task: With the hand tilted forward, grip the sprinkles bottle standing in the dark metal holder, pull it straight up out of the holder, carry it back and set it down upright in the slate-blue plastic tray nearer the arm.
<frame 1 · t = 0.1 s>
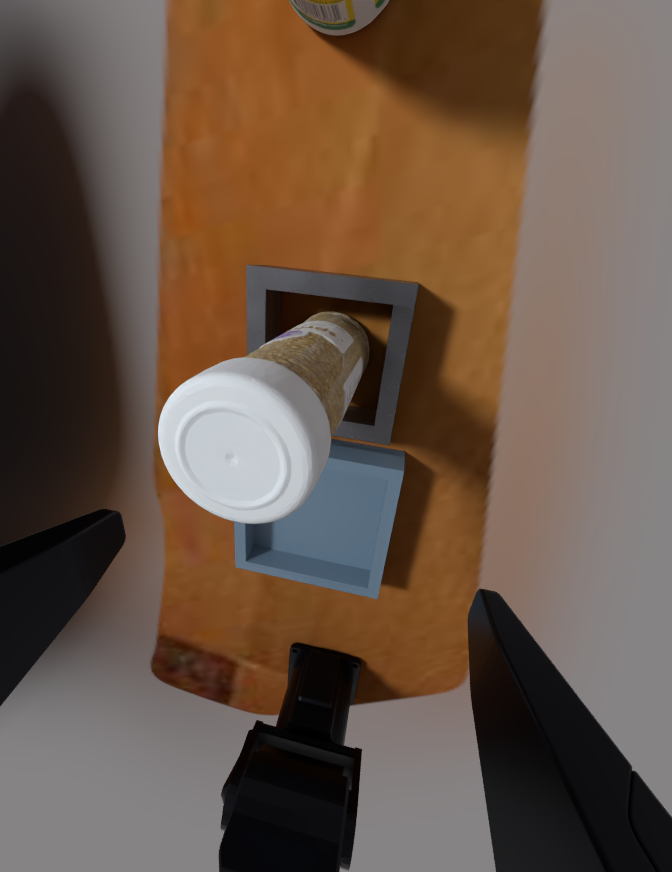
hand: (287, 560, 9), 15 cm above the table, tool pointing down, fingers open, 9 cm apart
tray: (318, 503, 26), on the table
sprinkles bottle: (332, 350, 22), resting in bottle holder
bottle holder: (332, 351, 21), on the table
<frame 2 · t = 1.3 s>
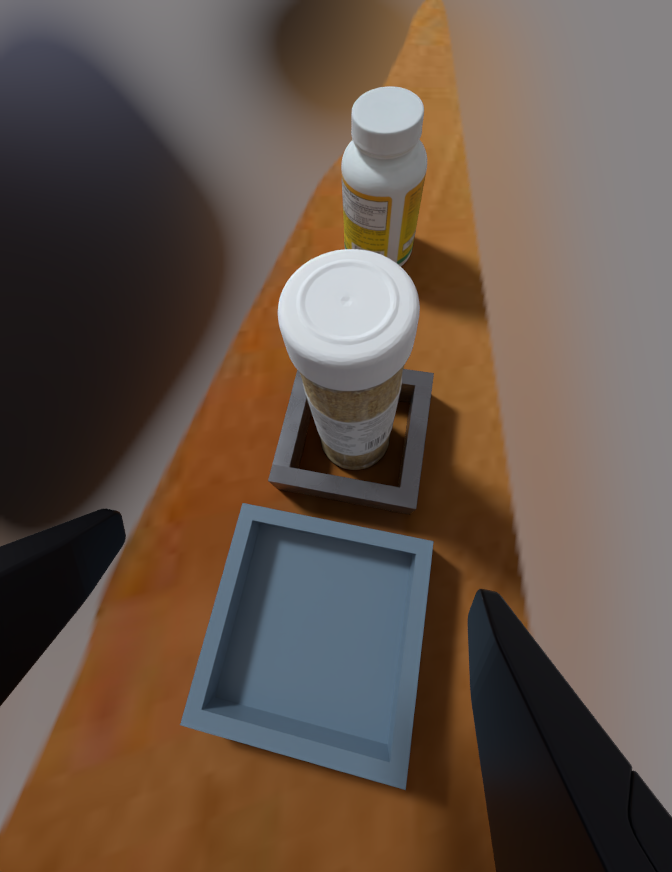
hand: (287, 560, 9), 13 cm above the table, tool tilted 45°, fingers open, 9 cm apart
tray: (319, 620, 20), on the table
sprinkles bottle: (354, 439, 24), resting in bottle holder
supplement bottle: (378, 252, 29), on the table
bottle holder: (354, 438, 24), on the table
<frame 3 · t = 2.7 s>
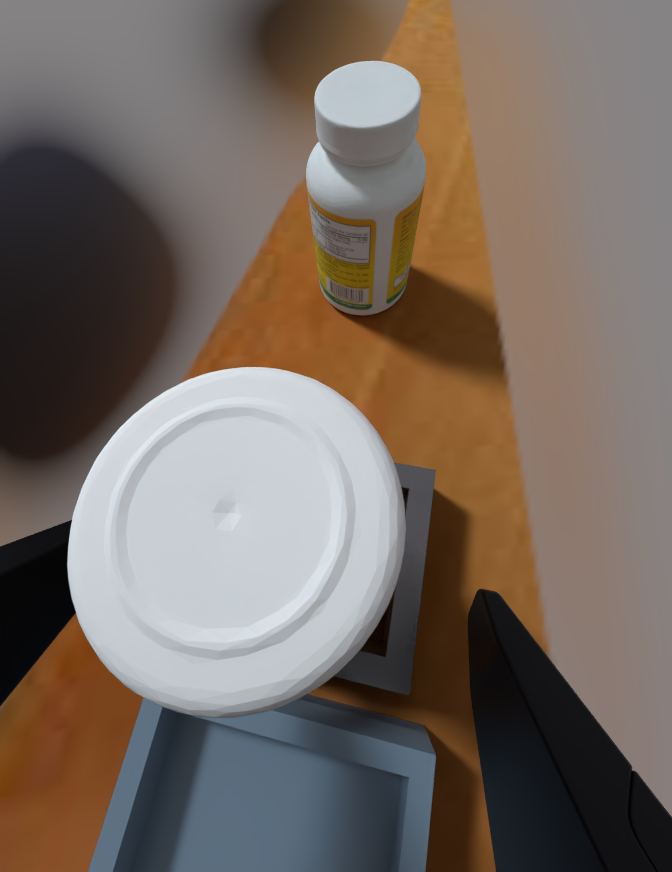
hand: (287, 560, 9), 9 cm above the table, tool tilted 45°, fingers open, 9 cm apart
tray: (264, 854, 14), on the table
sprinkles bottle: (325, 552, 17), resting in bottle holder
supplement bottle: (363, 285, 23), on the table
bottle holder: (325, 552, 17), on the table
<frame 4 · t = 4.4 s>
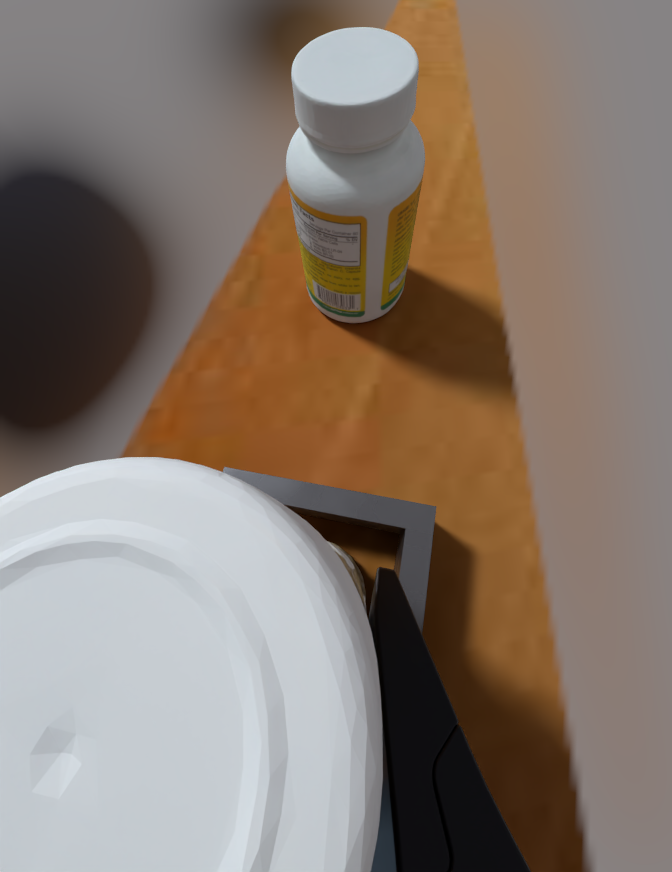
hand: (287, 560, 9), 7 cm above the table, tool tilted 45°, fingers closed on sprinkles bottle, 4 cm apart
sprinkles bottle: (311, 595, 15), resting in bottle holder, touching gripper
supplement bottle: (356, 288, 20), on the table
bottle holder: (311, 596, 15), on the table
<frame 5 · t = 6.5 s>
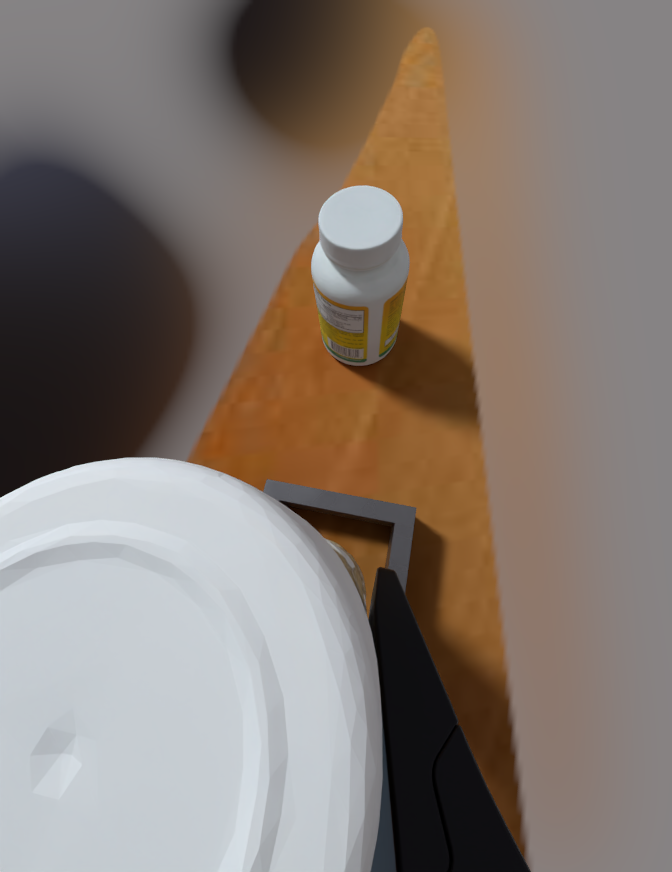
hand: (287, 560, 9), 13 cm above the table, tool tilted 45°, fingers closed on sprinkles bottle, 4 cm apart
sprinkles bottle: (312, 594, 15), point 6 cm above the table, touching gripper
supplement bottle: (360, 336, 26), on the table
bottle holder: (327, 571, 21), on the table
when the fingers open (9 cm above the table, at t = 8.9 s): sprinkles bottle drops 1 cm, resting on tray.
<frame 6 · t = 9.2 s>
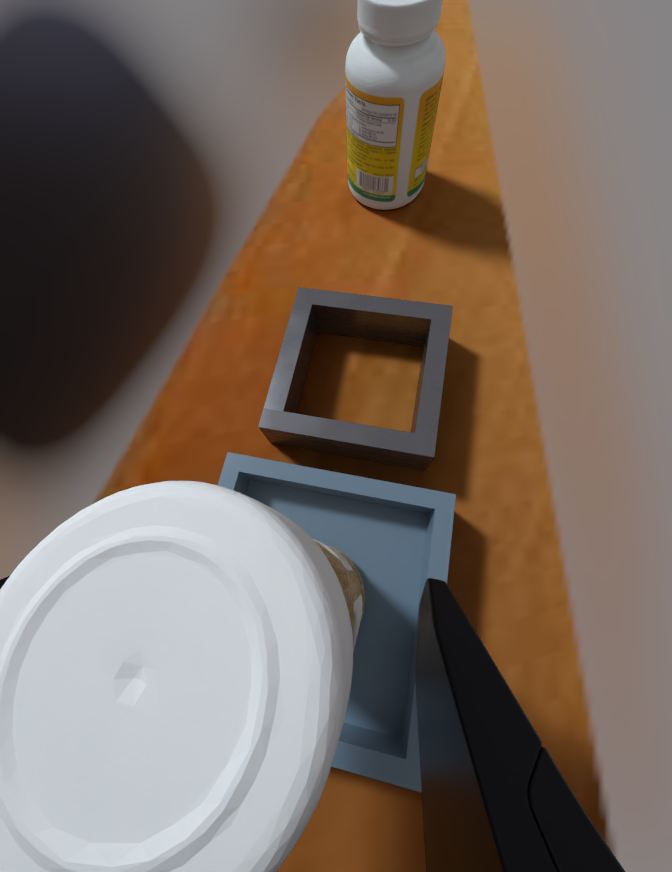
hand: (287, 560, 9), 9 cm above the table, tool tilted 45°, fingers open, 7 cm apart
tray: (318, 591, 17), on the table
sprinkles bottle: (315, 596, 17), point 1 cm above the table, touching tray
supplement bottle: (386, 187, 26), on the table
bottle holder: (359, 386, 21), on the table
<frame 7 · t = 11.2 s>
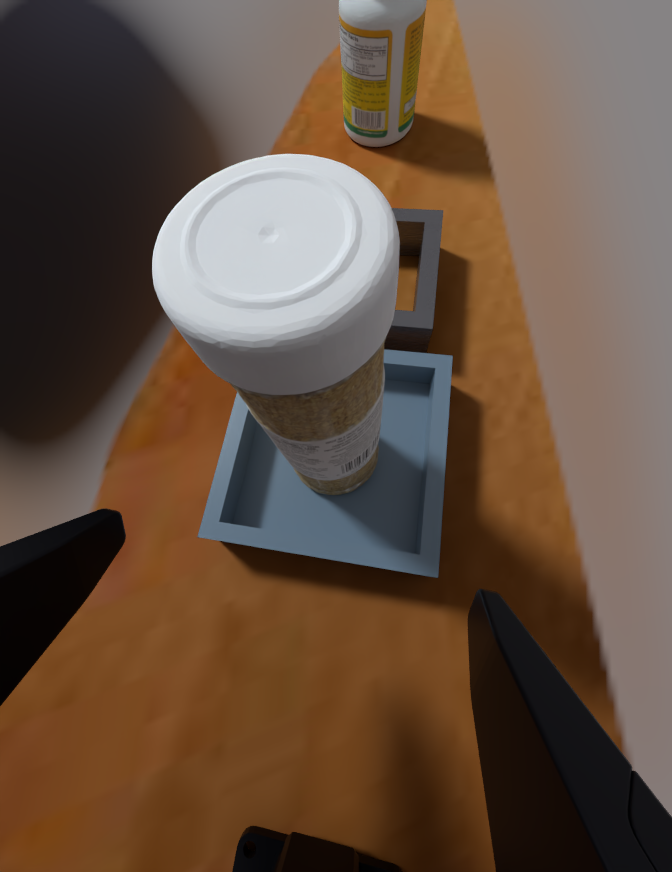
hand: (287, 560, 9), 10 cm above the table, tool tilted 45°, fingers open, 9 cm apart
tray: (336, 455, 20), on the table
sprinkles bottle: (335, 455, 19), point 1 cm above the table, touching tray
supplement bottle: (378, 129, 29), on the table
bottle holder: (364, 291, 23), on the table
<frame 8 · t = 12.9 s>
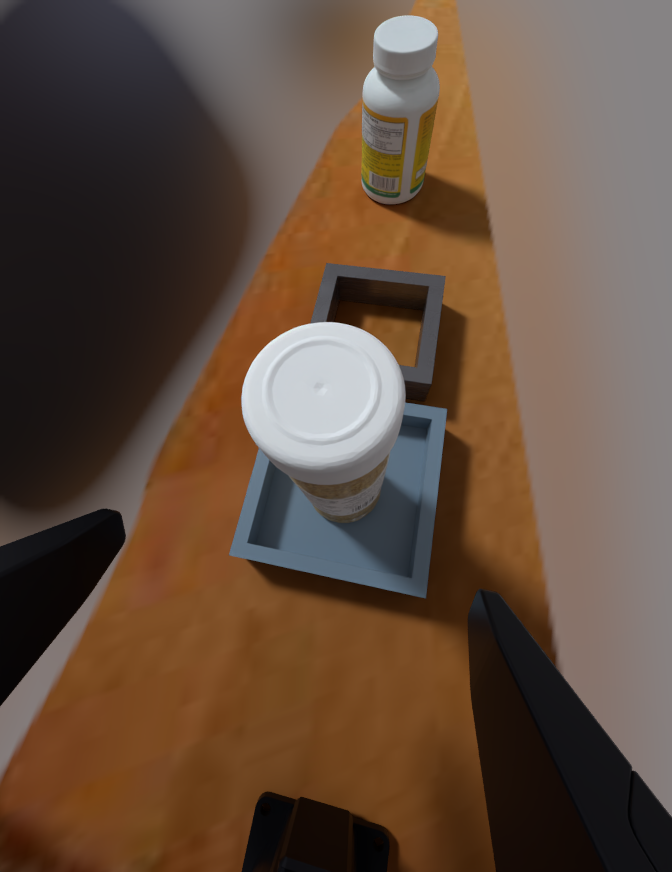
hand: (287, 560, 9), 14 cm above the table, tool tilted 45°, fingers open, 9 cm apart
tray: (345, 487, 23), on the table
sprinkles bottle: (344, 487, 22), point 1 cm above the table, touching tray
supplement bottle: (392, 186, 32), on the table
bottle holder: (373, 340, 27), on the table
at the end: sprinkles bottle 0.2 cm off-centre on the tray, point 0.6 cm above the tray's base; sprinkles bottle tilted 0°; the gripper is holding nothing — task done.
